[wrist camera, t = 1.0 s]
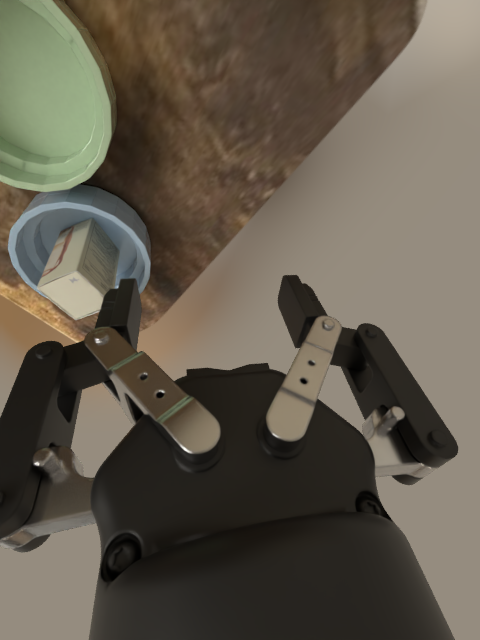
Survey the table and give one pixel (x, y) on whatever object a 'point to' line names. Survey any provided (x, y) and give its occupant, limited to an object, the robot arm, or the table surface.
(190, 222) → the table surface
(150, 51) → the table surface
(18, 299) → the table surface
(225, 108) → the table surface
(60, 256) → the skincare product carton
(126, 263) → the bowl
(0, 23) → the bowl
